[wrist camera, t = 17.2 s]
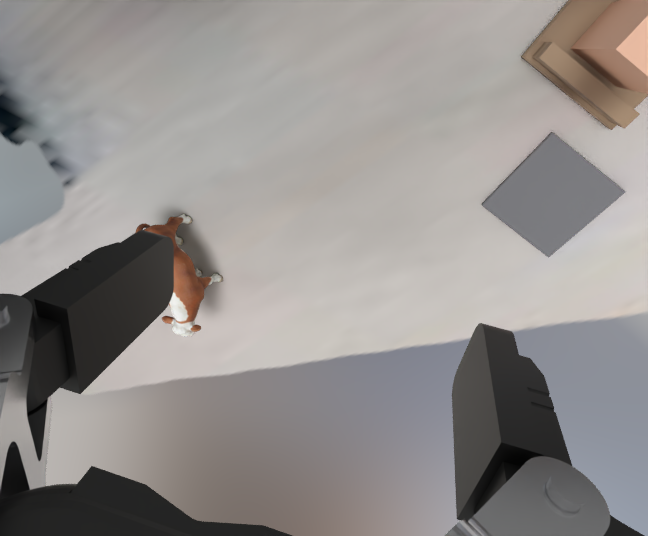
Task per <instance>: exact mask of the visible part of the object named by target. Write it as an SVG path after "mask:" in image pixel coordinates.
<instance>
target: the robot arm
mask: <svg viewBox="0 0 648 536" xmlns="http://www.w3.org/2000/svg"><path fill="white" fill-rule="evenodd" d="M173 290H174V245H173V241H172V239H171V238H170V237H167V236H163V235H160V234H156V233H152V232H149V231H145V230H140V231H138V232H136V233H135V234H133V235H132V236H130V237H129V238H127V239H126V240H124V241H122V242H121V243H119V242H118V243H114V244H111V245H108V246H104V247H101V248H98V249H96V250H94V251H93V252H91V253H90V254H88V255H86V256H85V257H83V258H82V260H81V261H80V260H78V261H77V262H75V263H73V264H72V265H70V266H69V268H68V269H66V268H65V269H64V270H62V271H61V272H59V273H57V274H56V275H54V276H53V277H51V278H49V279H48V280H46V281H44V282H43V283H41V284H40V285H38V286H36V287H35V288H33V289H32V290H30V291H28V292H27V293H25V294H24V295H22V296H18V295H13V294H0V536H292V535H289V534H286V533H283V532H280V531H277V530H275V529H272V528H269V527H266V526H262V525H247V524H231V523H217V522H202V521H197V520H194V519H192V518H191V517H189V516H188V515H186V514H185V513H184V512H182V511H181V510H180V509H178V508H177V507H175V506H174V505H173V504H171V503H170V502H169V501H167V500H166V499H164V498H163V497H162V496H160V495H159V494H158V493H156V492H155V491H154V490H152V489H151V488H150V487H148V486H147V485H145V484H142V483H139V482H136V481H134V480H131V479H128V478H125V477H122V476H119V475H116V474H113V473H110V472H108V471H105V470H101V469H99V468H96V467H93V466H91V468H90V469H89V470H88V472H87V473H86V474H85V475H84V476H83V478H82V479H81V480H80V481H79V483H78V484H59V485H51V486H46V464H47V454H48V453H47V452H48V443H49V433H50V422H51V412H52V400H51V395H52V394H53V393H54V392H55V391H56V390H57V389H58V388H59V387H60V388H64V389H66V390H69V391H72V392H75V393H78V394H81V393H82V392H83V391H84V390H85V389H86V388H87V387H88V386H89V385H90V384H91V383H92V382H93V381H94V380H95V379H96V378H97V377H98V376H99V375H100V374H101V373H102V372H103V371H104V370H105V369H106V368H107V367H108V366H109V365H110V364H111V363H112V362H113V361H114V360H115V359H116V358H117V357H118V356H119V355H120V354H121V353H122V352H123V351H124V350H125V349H126V348H127V347H128V346H129V345H130V344H131V343H132V342H133V341H134V340H135V339H136V338H137V337H138V336H139V335H140V334H141V333H142V332H143V331H144V330H145V329H146V328H147V327H148V326H149V325H150V324H151V323H152V322H153V321H154V320H155V319H156V318H157V317H158V316H159V315H160V314H161V313H162V312H163V311H164V310H165V309H166V308H167V306H168V304H169V303H170V301H171V298H172V295H173ZM452 407H453V432H454V456H455V483H456V508H457V519H458V520H461V521H460V522H458V523H457V524H456V525H455V526H454V527H453V528H452V529H451V530H450V531H449V532H448V533H447V534H446V535H445V536H644V535H642V534H640V533H639V532H637V531H635V530H634V529H632V528H630V527H628V526H627V525H625V524H623V523H622V522H620V521H618V520H617V519H615V518H614V517H612V516H611V515H610V512H609V509H608V506H607V503H606V501H605V499H604V498H603V496H602V495H601V493H600V491H599V490H598V489H597V488H596V486H595V485H594V484H593V483H592V482H591V481H590V480H589V479H588V478H587V477H586V476H585V475H584V474H582V473H581V472H580V471H578V470H577V469H576V468H574V467H572V464H571V460H570V458H569V454H568V451H567V448H566V445H565V441H564V439H563V435H562V432H561V429H560V425H559V422H558V419H557V416H556V413H555V412H554V406H553V403H552V400H551V397H549V390H548V387H547V384H546V381H545V378H544V375H543V374H542V373H541V372H540V370H539V369H538V368H537V366H536V365H535V364H534V363H533V361H532V360H531V359H530V358H527V357H523V356H520V355H519V354H518V350H517V346H516V342H515V338H514V334H513V333H512V332H511V331H508V330H504V329H500V328H497V327H493V326H489V325H486V324H482V323H480V324H478V326H477V327H476V329H475V331H474V333H473V335H472V337H471V340H470V342H469V344H468V346H467V349H466V351H465V353H464V356H463V358H462V360H461V363H460V365H459V367H458V369H457V372H456V375H455V378H454V383H453V390H452Z"/></svg>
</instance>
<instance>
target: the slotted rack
mask: <svg viewBox="0 0 648 536" xmlns="http://www.w3.org/2000/svg"><path fill="white" fill-rule="evenodd" d="M616 1H619V0H569V1H568V2H567V3H566V4H565V5H564V7H563V8H562V9H561V10H560V11H559V13H558V14H557V15H556V16H555V17H554V18H553V20H552V21H551V22H550V23H549V24H548V26H547V27H546V28H545V29H544V30H543V31H542V33H541V34H540V35H539V36H538V37H537V39H536V40H535V41H534V42H533V43H532V44H531V46H530V47H529V48H528V49H527V50H526V52H525V53H524V54H523V55H522V56H521V57H522V58H523V59H524V60H526V61H527V62H528V63H529V64H530V65H532V66H533V67H534V68H535V69H537V70H538V71H539V72H540V73H541V74H543V75H544V76H545V77H546V78H547V79H549V80H550V81H551V82H552V83H553V84H555V85H556V86H557V87H558V88H560V89H561V90H562V91H563V92H564V93H566V94H567V95H568V96H569V97H570V98H572V99H573V100H574V101H575V102H577V103H578V104H579V105H580V106H581V107H583V108H584V109H585V110H586V111H587V112H589V113H590V114H591V115H592V116H594V117H595V118H596V119H597V120H598V121H600V122H601V123H602V124H603V125H604V126H606V127H607V128H609V129H611V130H612V129H613V128H614V127H615V126H616V125H618V126H620V127H622V128H625V127H627V126H628V125H629V124H630V123H631V122H632V121H633V120H634V119H635V118H636V117H637V116H638V115H639V113H638V112H637V111H635V110H634V108H635V107H636V106H637V105H638V104H640V103H641V102H642V101H643V100H644V99H645V98H646V97H647V96H648V94H646V93H641V92H637V91H633V90H629V89H624V88H620V87H616V86H615V85H613V84H612V83H611V82H610V81H609V80H607V79H606V78H605V77H604V76H603V75H601V74H600V73H599V72H598V71H597V70H595V69H594V68H593V67H592V66H591V65H589V64H588V63H587V62H586V61H585V60H583V59H582V58H581V57H580V56H579V55H578V54H576V53H575V52H574V51H573V50H572V49H571V48H572V46H573V45H574V44H575V43H576V42H577V41H578V40H579V39H580V38H581V36H582V35H583V34H584V33H585V32H586V31H587V30H588V29H589V27H590V26H591V25H592V24H593V23H594V22H595V21H596V20H597V19H598V17H599V16H600V15H601V14H602V13H603V12H604V11H605V10H606V9H607V7H608V6H609V5H610V4H611V3H612V2H616Z"/></svg>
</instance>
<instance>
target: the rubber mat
mask: <svg viewBox="0 0 648 536" xmlns="http://www.w3.org/2000/svg"><path fill="white" fill-rule="evenodd" d="M624 193H625V191H624V190H623V189H621V188H620V187H619V186H618V185H616V184H615V183H614V182H613V181H612V180H610V179H609V178H608V177H607V176H605V175H604V174H603V173H602V172H600V171H599V170H598V169H597V168H596V167H594V166H593V165H592V164H591V163H589V162H588V161H587V160H586V159H584V158H583V157H582V156H581V155H580V154H578V153H577V152H576V151H575V150H573V149H572V148H571V147H570V146H568V145H567V144H566V143H565V142H564V141H562V140H561V139H560V138H559V137H557V136H556V135H555V134H554V133H552V132H551V133H550V134H549V135H548V137H547V138H546V139H545V140H544V141H543V142H542V143H541V144H540V145H539V146H538V147H537V148H536V149H535V150H534V151H533V152H532V153H531V154H530V155H529V156H528V157H527V158H526V159H525V160H524V161H523V162H522V163H521V164H520V165H519V166H518V167H517V168H516V169H515V170H514V171H513V172H512V173H511V174H510V175H509V176H508V178H507V179H506V180H505V181H504V182H503V183H502V184H501V185H500V186H499V187H498V188H497V189H496V190H495V191H494V192H493V193H492V194H491V195H490V196H489V197H488V198H487V199H486V200H485V201H484V202H483V203H482V206H484V207H485V208H486V209H487V210H489V211H490V212H491V213H492V214H494V215H495V216H496V217H498V218H499V219H500V220H501V221H503V222H504V223H505V224H506V225H508V226H509V227H510V228H512V229H513V230H514V231H515V232H517V233H518V234H519V235H521V236H522V237H523V238H524V239H526V240H527V241H528V242H529V243H531V244H532V245H533V246H535V247H536V248H537V249H538V250H540V251H541V252H542V253H544V254H545V255H546V256H547V257H550V256H551V255H552V254H553V253H555V252H556V251H557V250H558V249H559V248H560V247H562V246H563V245H564V244H565V243H566V242H567V241H569V240H570V239H571V238H572V237H573V236H574V235H576V234H577V233H578V232H579V231H580V230H582V229H583V228H584V227H585V226H586V225H587V224H589V223H590V222H591V221H592V220H593V219H594V218H596V217H597V216H598V215H599V214H600V213H602V212H603V211H604V210H605V209H606V208H607V207H609V206H610V205H611V204H612V203H613V202H614V201H616V200H617V199H618V198H619V197H620V196H622V195H623V194H624Z"/></svg>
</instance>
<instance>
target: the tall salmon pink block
mask: <svg viewBox="0 0 648 536" xmlns="http://www.w3.org/2000/svg"><path fill="white" fill-rule="evenodd" d="M571 49H572V50H573V51H574V52H575V53H576V54H578V55H579V56H580V57H581V58H582V59H583V60H585V61H586V62H587V63H588V64H589V65H591V66H592V67H593V68H594V69H595V70H597V71H598V72H599V73H600V74H601V75H603V76H604V77H605V78H606V79H607V80H609V81H610V82H611V83H612V84H613V85H615V86H616V87H620V88H624V89H629V90H633V91H637V92H641V93H646V94H648V0H619V1H616V2H612V3H611V4H610V5H609V6H608V7H607V9H606V10H605V11H604V12H603V13H602V14H601V15H600V16H599V17H598V19H597V20H596V21H595V22H594V23H593V24H592V25H591V26H590V27H589V29H588V30H587V31H586V32H585V33H584V34H583V35H582V36H581V38H580V39H579V40H578V41H577V42H576V43H575V44H574V45H573V46H572V48H571Z"/></svg>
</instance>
